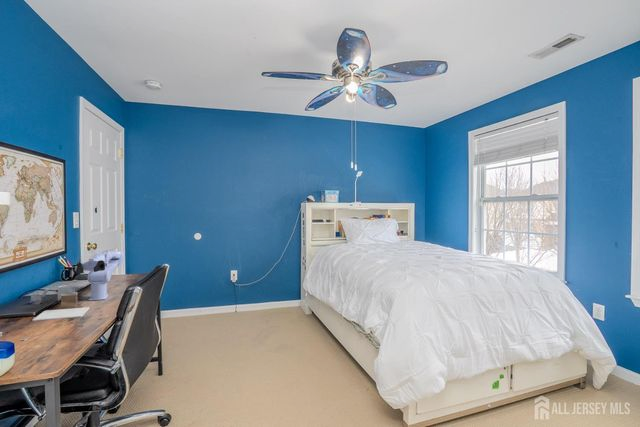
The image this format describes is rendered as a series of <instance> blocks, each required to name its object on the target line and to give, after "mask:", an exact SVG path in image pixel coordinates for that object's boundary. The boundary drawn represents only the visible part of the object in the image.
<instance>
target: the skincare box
mask: <svg viewBox="0 0 640 427" xmlns="http://www.w3.org/2000/svg"><path fill="white" fill-rule="evenodd" d="M71 292H76V285H62V286H60V287H58V288H57V299H58V298H61V294H62V293H71Z"/></svg>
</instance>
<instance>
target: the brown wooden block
mask: <svg viewBox="0 0 640 427" xmlns="http://www.w3.org/2000/svg"><path fill="white" fill-rule="evenodd" d="M72 308H78V291H75V292H71V293H62V294H61V302H60V309H72Z"/></svg>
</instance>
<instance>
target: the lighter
mask: <svg viewBox="0 0 640 427" xmlns="http://www.w3.org/2000/svg"><path fill="white" fill-rule="evenodd" d="M49 291H50V288H47V287H46V288H45V289H44V290H43V293H42V294H40V293H34V294H32V295H31V296H30V302H31V301H36V300H42V301H43V297H45V296H46V295H47V294H48V292H49Z"/></svg>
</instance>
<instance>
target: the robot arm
mask: <svg viewBox="0 0 640 427" xmlns="http://www.w3.org/2000/svg"><path fill="white" fill-rule="evenodd" d="M125 257H126V256H125V252H124V251H109V250H104V251H102V252H94V255H93V256H92V258H91V257H90V258H89V259H88V261H85V262H78V263H76V266H74V269H75V274H76V275H80V274H85V272H86V271H88V274H87V281H88V283H89V284H90V297H89V299H88V301H98V300H99V301H100V300H101V301H102V300H106V299H107V298H108V297H109V294H108V283H109V281H110V280H111V278H112V273H113V272H114V271H115V270H116V269H117V268H118V267H119V265H121V264H123V263H124V261H125Z"/></svg>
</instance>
